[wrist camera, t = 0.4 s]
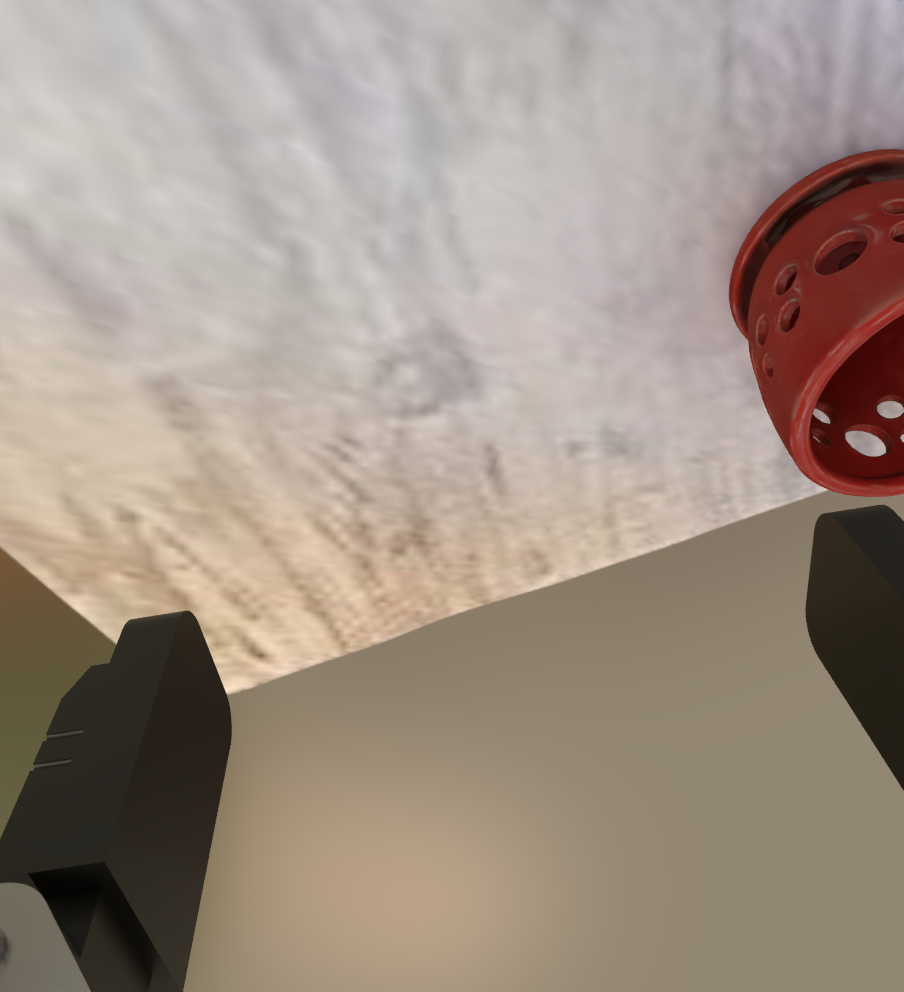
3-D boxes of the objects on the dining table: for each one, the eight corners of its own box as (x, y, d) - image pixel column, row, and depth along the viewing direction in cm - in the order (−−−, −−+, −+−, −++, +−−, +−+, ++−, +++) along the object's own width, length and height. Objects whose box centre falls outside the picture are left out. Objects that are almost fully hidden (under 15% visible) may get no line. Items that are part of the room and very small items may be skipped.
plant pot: (957, 65, 37) (1148, 201, 29) (949, 287, 47) (1092, 435, 39) (674, 198, 40) (779, 356, 32) (720, 382, 49) (811, 539, 41)
